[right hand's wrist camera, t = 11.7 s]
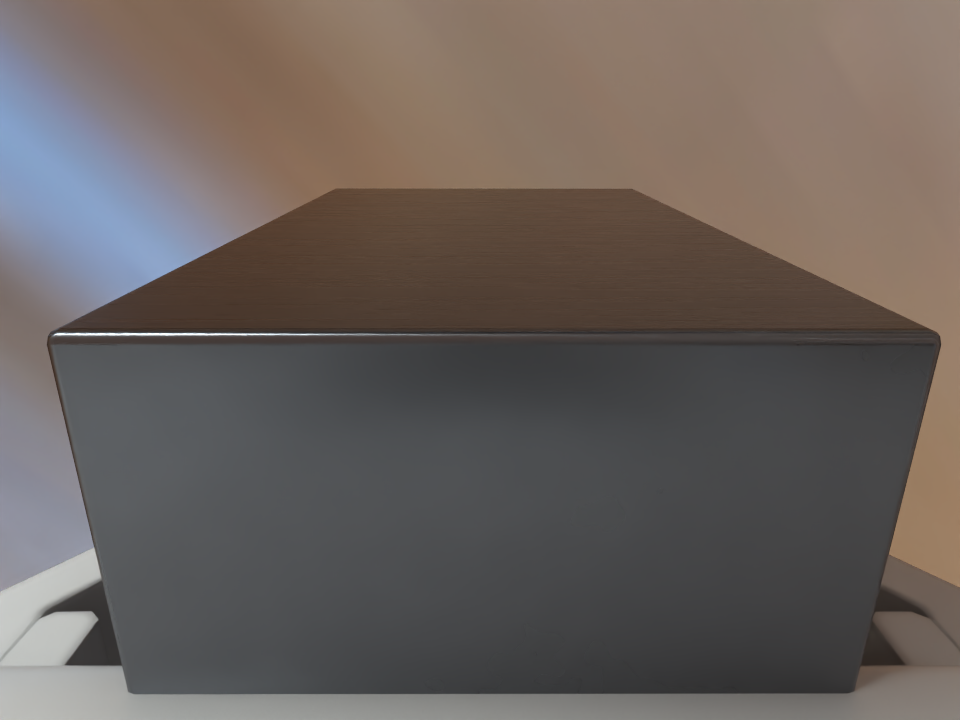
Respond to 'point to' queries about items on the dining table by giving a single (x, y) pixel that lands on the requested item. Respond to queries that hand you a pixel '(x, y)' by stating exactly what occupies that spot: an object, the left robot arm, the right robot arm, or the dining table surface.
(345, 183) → the dining table surface
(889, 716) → the right robot arm
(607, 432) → the bar
